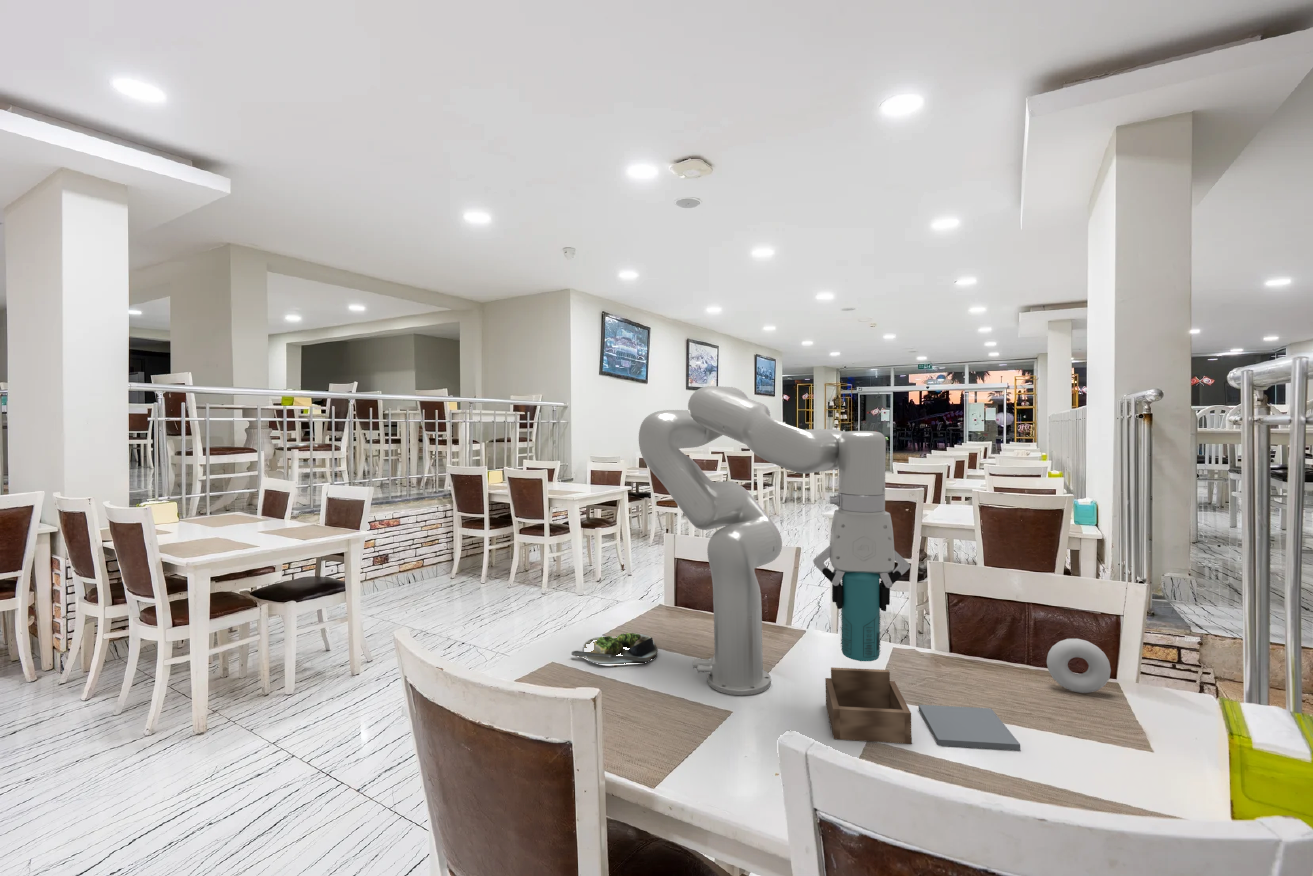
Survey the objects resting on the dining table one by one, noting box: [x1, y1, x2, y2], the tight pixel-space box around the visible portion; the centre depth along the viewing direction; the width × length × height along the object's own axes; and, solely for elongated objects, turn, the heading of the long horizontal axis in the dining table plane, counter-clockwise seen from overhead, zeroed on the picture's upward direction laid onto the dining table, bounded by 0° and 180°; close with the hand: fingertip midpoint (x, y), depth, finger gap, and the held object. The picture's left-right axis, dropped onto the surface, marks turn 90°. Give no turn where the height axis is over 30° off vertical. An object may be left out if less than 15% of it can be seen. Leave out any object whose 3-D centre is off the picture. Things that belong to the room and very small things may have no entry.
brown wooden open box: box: [824, 666, 912, 745], centre depth 103 cm, size 12×12×7 cm
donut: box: [1046, 638, 1112, 694], centre depth 113 cm, size 10×4×10 cm, turn 65°
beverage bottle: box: [840, 572, 882, 662], centre depth 103 cm, size 6×7×20 cm
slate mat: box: [917, 704, 1021, 752], centre depth 101 cm, size 12×12×1 cm
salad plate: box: [571, 632, 659, 664], centre depth 137 cm, size 19×18×5 cm
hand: (860, 606), depth 103 cm, fingers closed on beverage bottle, 6 cm apart
